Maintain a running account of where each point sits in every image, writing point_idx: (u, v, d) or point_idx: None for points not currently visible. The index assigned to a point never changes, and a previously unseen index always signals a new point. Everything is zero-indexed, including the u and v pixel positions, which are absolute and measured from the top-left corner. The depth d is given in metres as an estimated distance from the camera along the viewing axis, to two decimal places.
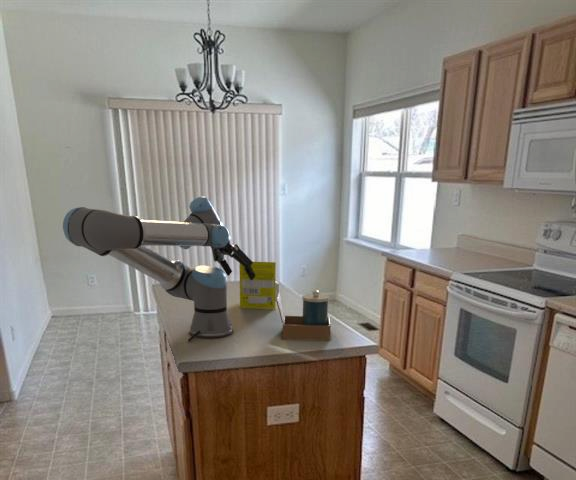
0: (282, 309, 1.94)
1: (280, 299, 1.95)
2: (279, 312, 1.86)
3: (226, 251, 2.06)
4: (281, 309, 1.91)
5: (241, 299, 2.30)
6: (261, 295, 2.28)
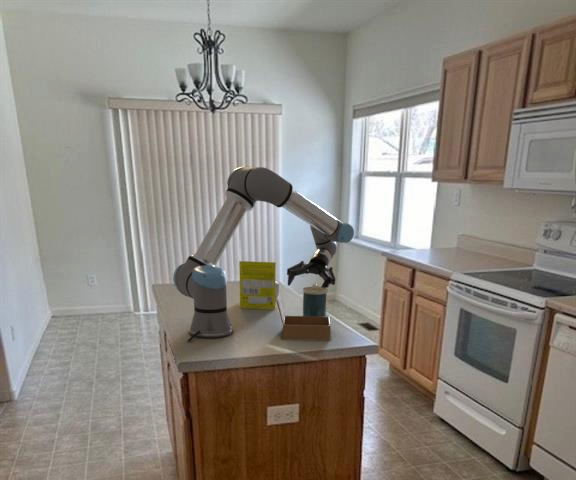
0: (282, 309, 1.94)
1: (280, 299, 1.95)
2: (279, 312, 1.86)
3: (321, 266, 2.18)
4: (281, 309, 1.91)
5: (241, 299, 2.30)
6: (261, 295, 2.28)
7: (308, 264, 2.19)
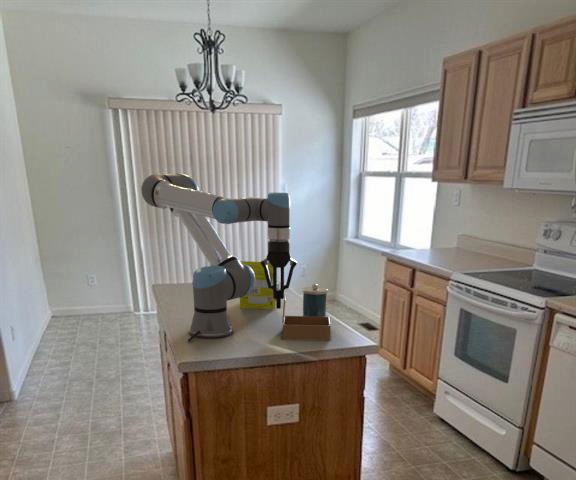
0: None
1: None
2: (283, 312, 1.86)
3: (283, 261, 1.84)
4: None
5: (241, 299, 2.30)
6: (261, 295, 2.28)
7: (269, 259, 1.84)
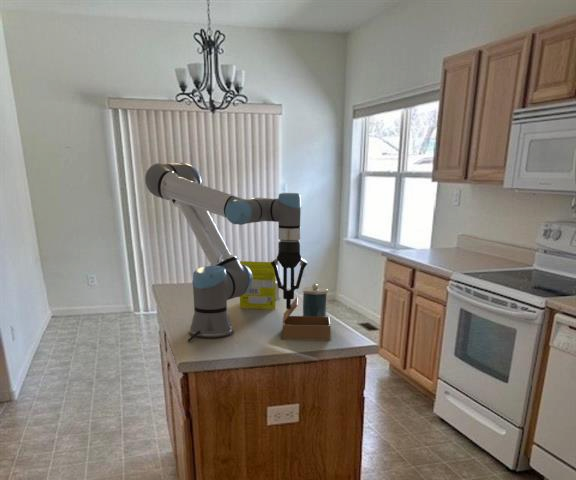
0: (288, 311, 1.95)
1: (294, 302, 1.95)
2: (289, 314, 1.86)
3: (294, 262, 1.84)
4: (289, 311, 1.91)
5: (241, 299, 2.30)
6: (261, 295, 2.28)
7: (279, 259, 1.84)
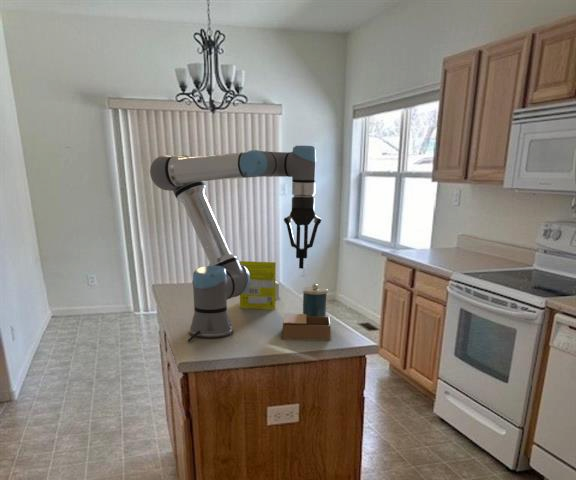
0: None
1: None
2: (294, 322, 1.87)
3: (308, 219, 1.78)
4: None
5: (241, 299, 2.30)
6: (261, 295, 2.28)
7: (292, 216, 1.79)
